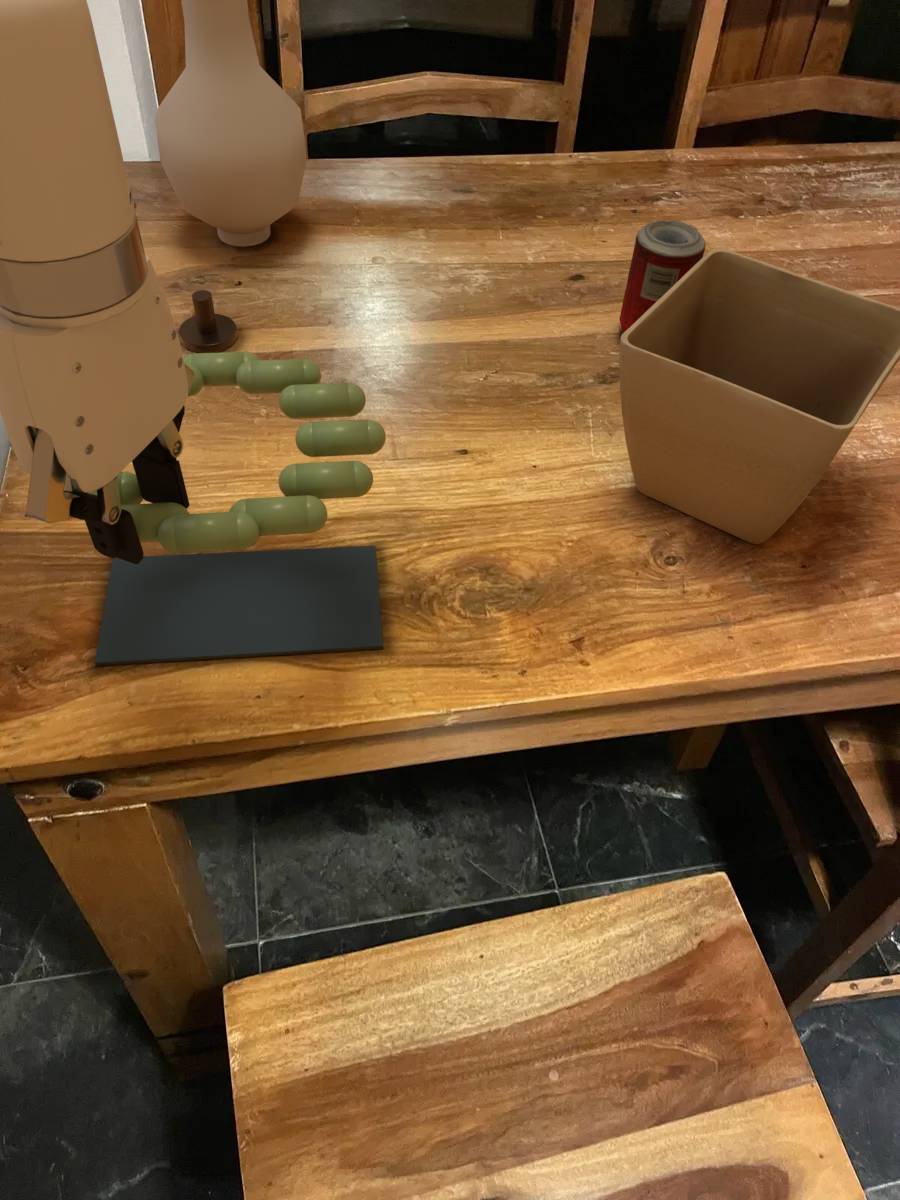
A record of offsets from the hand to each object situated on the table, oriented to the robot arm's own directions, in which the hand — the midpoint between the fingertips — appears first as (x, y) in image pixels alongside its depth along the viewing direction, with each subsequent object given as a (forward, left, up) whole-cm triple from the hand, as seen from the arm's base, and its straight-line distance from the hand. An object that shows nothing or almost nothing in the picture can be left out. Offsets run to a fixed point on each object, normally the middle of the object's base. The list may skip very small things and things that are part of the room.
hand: (143, 526), depth 58 cm
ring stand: (-1, +45, -17) cm, 48 cm away
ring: (+4, +7, 0) cm, 9 cm away
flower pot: (+48, +19, -17) cm, 54 cm away
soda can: (+47, +43, -17) cm, 66 cm away
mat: (+4, +7, -17) cm, 18 cm away
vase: (+2, +67, -17) cm, 70 cm away
